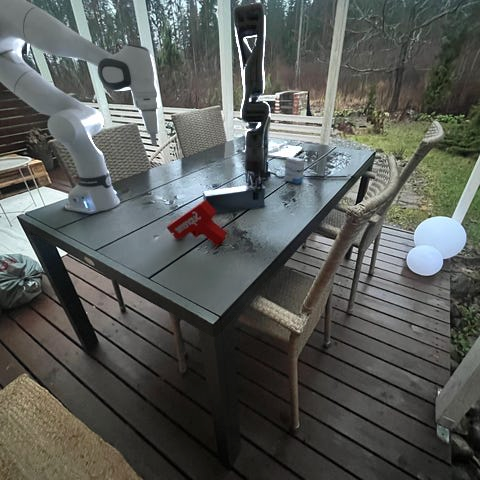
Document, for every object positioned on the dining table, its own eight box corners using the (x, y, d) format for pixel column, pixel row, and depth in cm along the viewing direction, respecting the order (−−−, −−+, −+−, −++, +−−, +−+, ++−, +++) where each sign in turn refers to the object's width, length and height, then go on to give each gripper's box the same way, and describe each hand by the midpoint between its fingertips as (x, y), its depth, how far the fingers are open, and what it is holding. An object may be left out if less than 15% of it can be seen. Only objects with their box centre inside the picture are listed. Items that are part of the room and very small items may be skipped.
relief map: (291, 159, 177) (291, 151, 174) (243, 153, 190) (243, 145, 187) (302, 149, 197) (303, 142, 194) (258, 144, 211) (258, 137, 208)
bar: (259, 201, 122) (260, 183, 117) (264, 206, 118) (265, 188, 113) (204, 210, 115) (202, 191, 111) (207, 215, 111) (205, 196, 106)
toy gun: (233, 234, 92) (206, 198, 88) (229, 240, 88) (200, 203, 84) (198, 253, 102) (172, 221, 98) (193, 259, 98) (166, 227, 94)
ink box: (302, 181, 142) (305, 159, 136) (297, 184, 139) (300, 161, 133) (289, 177, 147) (291, 156, 141) (284, 180, 144) (285, 158, 138)
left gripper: (136, 98, 102) (144, 137, 110) (137, 105, 86) (146, 149, 93) (154, 98, 104) (160, 136, 111) (158, 104, 87) (164, 148, 95)
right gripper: (239, 153, 112) (239, 192, 121) (251, 163, 101) (250, 205, 110) (256, 152, 114) (255, 189, 123) (270, 161, 103) (267, 202, 112)
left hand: (153, 142), depth 102 cm, fingers open, 8 cm apart
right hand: (253, 196), depth 117 cm, fingers open, 5 cm apart
